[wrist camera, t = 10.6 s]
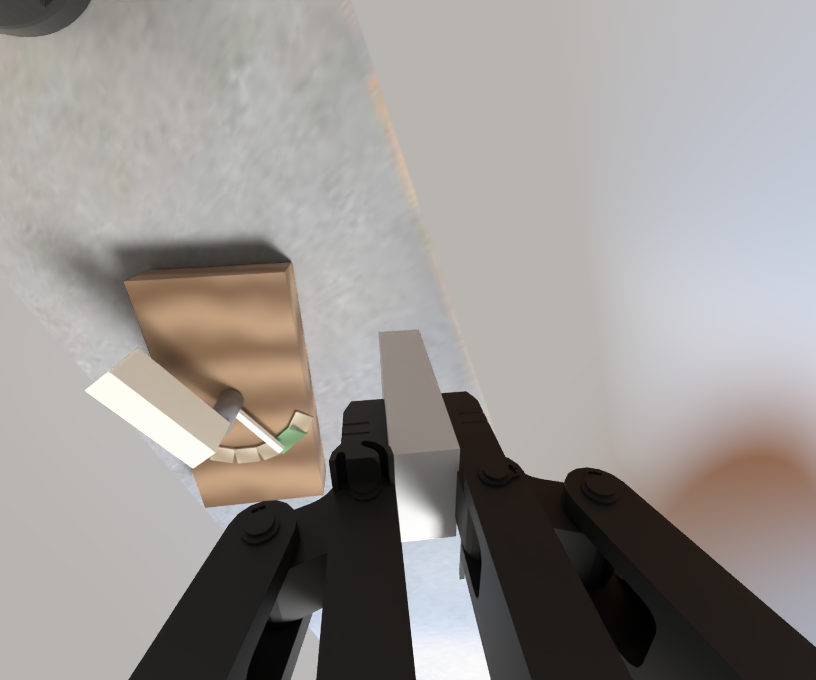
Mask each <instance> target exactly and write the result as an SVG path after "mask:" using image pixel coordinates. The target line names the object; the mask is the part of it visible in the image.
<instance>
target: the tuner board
mask: <svg viewBox="0 0 816 680" xmlns="http://www.w3.org/2000/svg"><path fill="white" fill-rule="evenodd" d="M124 284H125V287H126V289H127V292H128V295H129V298H130V301H131V303H132V306H133V309H134V312H135V314H136V317H137V320H138V323H139V325H140V328H141V331H142V334H143V337H144V339H145V342H146V345H147V348H148V350H149V353H150V356H151V359H153V360H154V361H155V362H156V363H158V364H159V365H160V366H161V367H162V368H164V369H165V370H166V371H167V372H169V373H170V374H171V375H172V376H173V377H175V378H176V379H177V380H178V381H179V382H181V383H182V384H183V385H184V386H186V387H187V388H188V389H189V390H190V391H192V392H193V393H194V394H195V395H197V396H198V397H199V398H200V399H201V400H203V401H204V402H205V403H206V404H208V405H209V406H210V407H211V408H213V406H214V404H215V403H216V401H217V400H218V398H219V396H220V395H221V393H222V392H224V391H226V390H235V391H237V392H239V393H240V394H241V395H242V396H243V398H244V403H243V405H242V407H241V410H242V411H244V412H245V413H246V414H247V415H248V416H250V417H251V418H252V419H253V420H254V421H255V422H257V423H258V424H259V425H260V426H261V427H262V428H264V429H265V430H266V431H267V432H268V433H269V434H271V435H272V436H273V437H274V438H275V439H277V440H278V441H279V442H280V443H281V444H282V445H284V446H285V447H284V450H283V451H281V452H280V453H278V452H276V451H275V450H274V449H273V448H272V447H270V446H269V445H268V444H267V443H266V442H264V441H263V440H262V439H261V438H260V437H258V436H257V435H256V434H255V433H254V432H252V431H251V430H250V429H249V428H248V427H246V426H245V425H244V424H243V423H242V422H240V421H239V420H238V419H237V418H236V419H235V421H234V423H233V425H232V427H231V429H230V431H229V433H228V434H227V435H226V436H224V437H223V439H222V441H221V443H220V445H219V447H218V449H217V451H216V453H215V454H213V455H212V456H210V457H209V458H208V459H206V460H205V461H203V462H202V463H200V464H199V465H198V466H196V467H195V468H191V469H192V472H193V475H194V478H195V481H196V483H197V486H198V489H199V492H200V494H201V497H202V500H203V503H204V506H205V508H207V507H217V506H226V505H235V504H244V503H254V502H262V501H272V500H281V499H290V498H300V497H309V496H318V495H323V493H324V484H325V476H326V468H325V462H324V456H323V449H322V443H321V437H320V431H319V425H318V419H317V413H316V406H315V400H314V394H313V388H312V382H311V376H310V370H309V364H308V357H307V351H306V345H305V339H304V333H303V327H302V321H301V314H300V308H299V302H298V296H297V290H296V284H295V278H294V271H293V265H292V262H287V263H269V264H251V265H233V266H215V267H197V268H179V269H161V270H146V271H144V272H142V273H140V274H138V275H136V276H134V277H132V278H130V279H128V280H126V281H124Z"/></svg>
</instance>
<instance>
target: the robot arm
mask: <svg viewBox="0 0 816 680" xmlns="http://www.w3.org/2000/svg"><path fill="white" fill-rule="evenodd" d="M90 1H91V0H0V33H2V34H6V35H11V36H20V37H36V36H43V35H47V34H51V33H54V32H57V31H59V30H61V29H63V28H65V27H67V26H68V25H70V24H71V23H72V22H74V21H75V20H76V19H77V18H78V17H79V16H80V15H81V14H82V13H83V11H84V10H85V9H86V7H87V6H88V4H89V3H90ZM379 345H380V362H381V380H382V396H383V399H376V400H364V401H351V403H350V404H349V405H348V407H347V408H346V409H345V411H344V413H343V426H342V438H341V444H340V445H339V446H338V447H337V448H336V449H335V450H334V451H333V452H332V454H331V457H330V459H329V466H330V473H331V480H332V487H333V488H332V489H331V490H330V491H329V492H328V493H327V494H326V495H325V496H323V497H322V498H321V499H319V500H317V501H315V502H313V503H311V504H308V505H306V506H303V507H300V508H298V509H295V510H294V509H293V508H292V507H291V506H289V505H288V504H287V503H284V502H281V501H278V500H272V501H262V502H260V503H257V504H254V505H251V506H249V507H248V508H246V509H245V510H243V511H242V512H240V513H239V514H238V515H237V516H236V517H235V518H234V519H233V520H232V522H231V523H230V524H229V525H228V527H227V528H226V530H225V531H224V533H223V534H222V536H221V538H220V539H219V541H218V542H217V544H216V545H215V547H214V548H213V550H212V551H211V553H210V555H209V556H208V558H207V559H206V561H205V562H204V564H203V565H202V567H201V568H200V570H199V572H198V573H197V575H196V576H195V578H194V579H193V581H192V582H191V584H190V586H189V587H188V589H187V590H186V592H185V593H184V595H183V596H182V598H181V599H180V601H179V602H178V604H177V606H176V607H175V609H174V610H173V612H172V613H171V615H170V617H169V618H168V620H167V621H166V623H165V624H164V626H163V627H162V629H161V630H160V632H159V633H158V635H157V637H156V638H155V640H154V641H153V643H152V645H151V646H150V647H149V649H148V650H147V652H146V653H145V655H144V657H143V658H142V660H141V661H140V663H139V664H138V666H137V667H136V669H135V670H134V672H133V674H132V675H131V677H130V678H129V680H291V677H292V674H293V671H294V668H295V665H296V662H297V658H298V655H299V652H300V649H301V646H302V643H303V640H304V637H305V634H306V631H307V628H308V625H309V622H310V619H311V616H312V613H313V612H315V611H317V610H319V609H321V608H323V610H322V621H321V633H320V644H319V655H318V667H317V678H316V680H416V676H415V666H414V657H413V647H412V638H411V628H410V619H409V610H408V600H407V591H406V581H405V572H404V562H403V553H402V543H401V542H408V541H417V540H426V539H435V538H444V537H453V536H456V523H457V526H458V530H459V534H460V538H461V549H460V567H459V575H460V579H464V576H465V577H466V581H467V585H468V589H469V593H470V597H471V601H472V605H473V609H474V613H475V617H476V621H477V625H478V629H479V633H480V637H481V641H482V645H483V649H484V653H485V657H486V661H487V666H488V670H489V674H490V678H491V680H816V647H815V646H814V645H813V644H811V643H810V642H809V641H808V640H807V639H806V638H805V637H803V636H802V635H801V634H799V632H797V631H796V630H795V629H794V628H793V627H792V626H790V625H789V624H788V623H787V622H786V621H785V620H784V619H782V618H781V617H780V616H779V615H778V614H777V613H775V612H774V611H773V610H772V609H771V608H770V607H768V606H767V605H766V604H765V603H764V602H763V601H761V600H760V599H759V598H758V597H757V596H755V595H754V594H753V593H752V592H751V591H750V590H749V589H747V588H746V587H745V586H744V585H743V584H742V583H740V582H739V581H738V580H737V579H735V577H733V576H732V575H731V574H730V573H729V572H727V571H726V570H725V569H724V568H723V567H722V566H721V565H719V564H718V563H717V562H716V561H715V560H714V559H712V558H711V557H710V556H709V555H708V554H707V553H706V552H704V551H703V550H702V549H701V548H700V547H699V546H697V545H696V544H695V543H694V542H693V541H692V540H690V539H689V538H688V537H687V536H686V535H685V534H683V533H682V532H681V531H680V530H679V529H678V528H676V527H675V526H674V525H673V524H671V522H669V521H668V520H667V519H666V518H665V517H664V516H662V515H661V514H660V513H659V512H658V511H657V510H655V509H654V508H653V507H652V506H651V505H649V504H648V503H647V502H646V501H645V500H644V499H642V498H641V497H640V496H639V495H638V494H637V493H635V492H634V491H633V490H632V489H631V488H630V487H629V486H627V485H626V484H625V483H624V482H623V481H621V480H620V479H618V478H617V477H615V476H614V475H612V474H610V473H607V472H605V471H602V470H600V469H594V468H587V467H586V468H579V469H575V470H573V471H571V472H570V473H568V475H567V477H566V479H565V482H564V483H563V482H556V481H551V480H544V479H539V478H535V477H531V476H529V475H526V474H525V473H524V471H523V470H522V469H521V467H520V466H519V465H518V464H517V463H515V462H514V461H512V460H511V459H509V458H507V457H505V455H504V453H503V451H502V449H501V447H500V445H499V443H498V441H497V439H496V437H495V435H494V433H493V431H492V429H491V427H490V425H489V423H488V422H487V418H486V416H485V414H484V413H483V410H482V408H481V406H480V404H479V402H478V400H477V399H475V398H474V397H473V396H472V395H470V394H469V393H468V392H467V391H464V392H452V393H441V392H440V389H439V386H438V383H437V380H436V377H435V375H434V372H433V369H432V366H431V363H430V360H429V357H428V354H427V351H426V348H425V346H424V343H423V340H422V337H421V334H420V331H419V330H404V331H387V332H379Z"/></svg>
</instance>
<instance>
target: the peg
mask: <svg viewBox="0 0 816 680" xmlns="http://www.w3.org/2000/svg"><path fill="white" fill-rule="evenodd" d="M85 391H86V392H87V393H88V394H90V395H91V396H93V397H94V398H95V399H97V400H98V401H100V402H101V403H102V404H104V405H105V406H107V407H108V408H110V409H111V410H112V411H113V412H115V413H117V414H118V415H119V416H120V417H122V418H123V419H125V420H126V421H127V422H129V423H130V424H132V425H133V426H134V427H136V428H137V429H139V430H140V431H141V432H143V433H144V434H145V435H147V436H148V437H150V438H151V439H152V440H154V441H155V442H157V443H158V444H159V445H161V446H162V447H164V448H165V449H166V450H168V451H169V452H171V453H172V454H173V455H175V456H176V457H178V458H179V459H180V460H182V461H183V462H184V463H186V464H187V465H189V466H190V467H191V468H195V467H196V466H198V465H199V464H200V463H202V462H203V461H205V460H206V459H208V458H209V457H210V456H212V455H213V454H215V453H216V451H217V449H218V447H219V445H220V443H221V441H222V439H223V437H224V436H226V435H227V434H228V433H229V431H230V429H231V427H232V425H233V423H234V421H235V419H236V418H237V419H238V420H239V421H240V422H242V423H243V424H244V425H245V426H246V427H248V428H249V429H250V430H251V431H252V432H254V433H255V434H256V435H257V436H258V437H260V438H261V439H262V440H263V441H264V442H266V443H267V444H268V445H269V446H270V447H272V448H273V449H274V450H275V451H276V452H278V453H280V452H281V451H283V450H284V447H285V446H284V445H282V444H281V443H280V442H279V441H278V440H277V439H275V438H274V437H273V436H272V435H271V434H269V433H268V432H267V431H266V430H265V429H264V428H262V427H261V426H260V425H259V424H258V423H257V422H255V421H254V420H253V419H252V418H251V417H250V416H248V415H247V414H246V413H245V412H244V411H242V410H241V407H242V405H243V403H244V398H243V396H242V395H241V394H240V393H239V392H237V391H235V390H226V391H224V392H222V393H221V395H220V396H219V398H218V400H217V401H216V403H215V404H214V406H213V408H211V407H210V406H209V405H208V404H206V403H205V402H204V401H203V400H201V399H200V398H199V397H198V396H197V395H195V394H194V393H193V392H192V391H190V390H189V389H188V388H187V387H186V386H184V385H183V384H182V383H181V382H179V381H178V380H177V379H176V378H175V377H173V376H172V375H171V374H170V373H169V372H167V371H166V370H165V369H164V368H162V367H161V366H160V365H159V364H158V363H156V362H155V361H154V360H153V359H151V358H150V357H149V356H148V355H147V354H145V353H144V352H143V351H142V350H140V349H139V348H137V349H136V350H134V351H133V352H132V353H131V354H129V355H128V356H127V357H126V358H125V359H123V360H122V361H121V362H120V363H118V364H117V365H116V366H115V367H113V368H112V369H111V370H110V371H108V372H107V373H106V374H105V375H103V376H102V377H101V378H100V379H98V380H97V381H96V382H95V383H94V384H92V385H91V386H90V387H89V388H87V389H86V390H85Z"/></svg>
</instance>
